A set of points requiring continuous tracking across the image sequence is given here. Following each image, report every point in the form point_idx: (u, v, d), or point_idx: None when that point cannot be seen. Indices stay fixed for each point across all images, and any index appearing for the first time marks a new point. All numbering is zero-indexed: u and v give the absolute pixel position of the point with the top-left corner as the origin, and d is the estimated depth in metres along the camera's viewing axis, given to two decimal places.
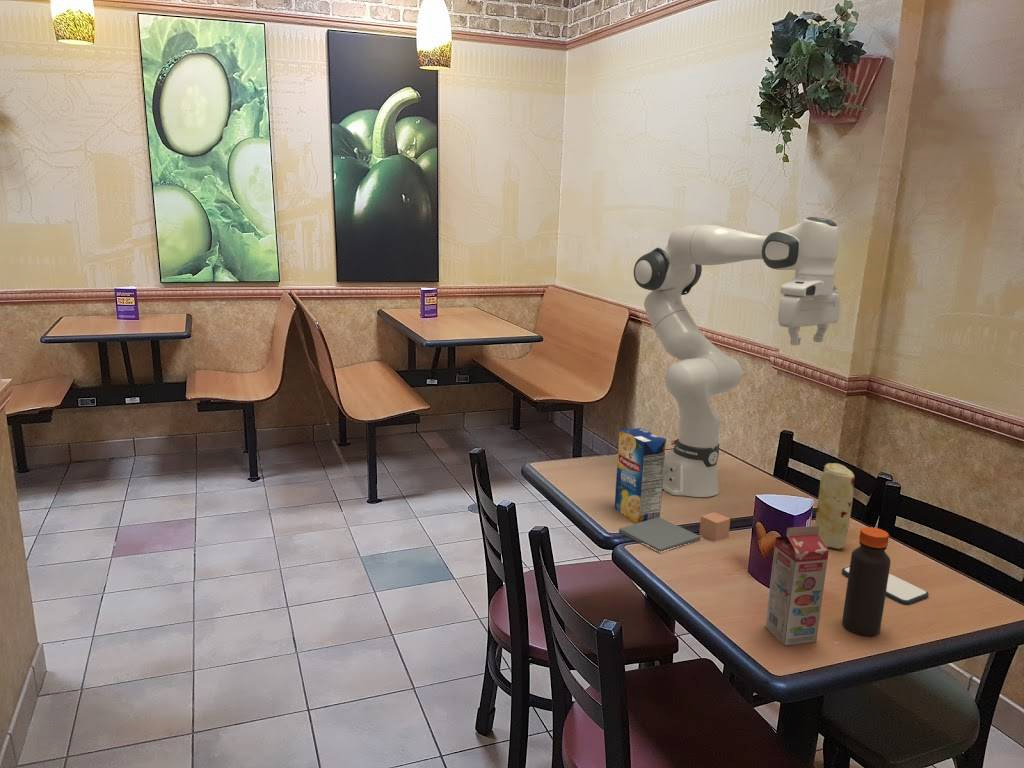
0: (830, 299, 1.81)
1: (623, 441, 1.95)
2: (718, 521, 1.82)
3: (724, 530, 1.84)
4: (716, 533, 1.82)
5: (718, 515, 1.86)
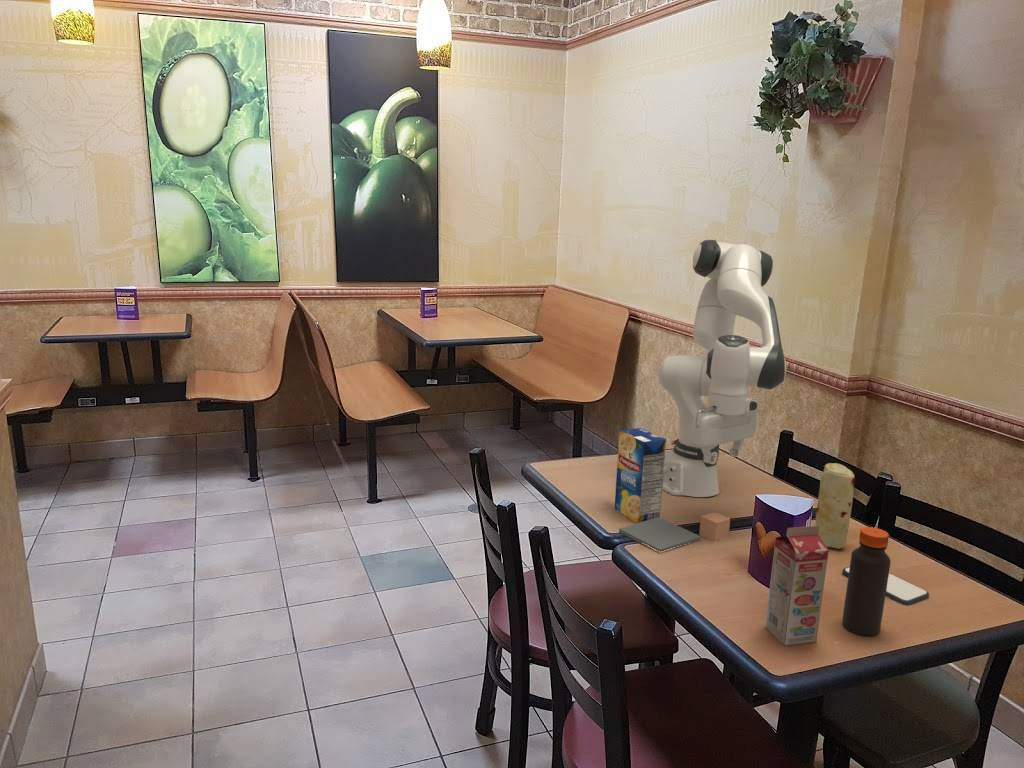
0: None
1: (623, 441, 1.95)
2: (718, 521, 1.82)
3: (725, 530, 1.84)
4: (716, 533, 1.82)
5: (718, 515, 1.86)
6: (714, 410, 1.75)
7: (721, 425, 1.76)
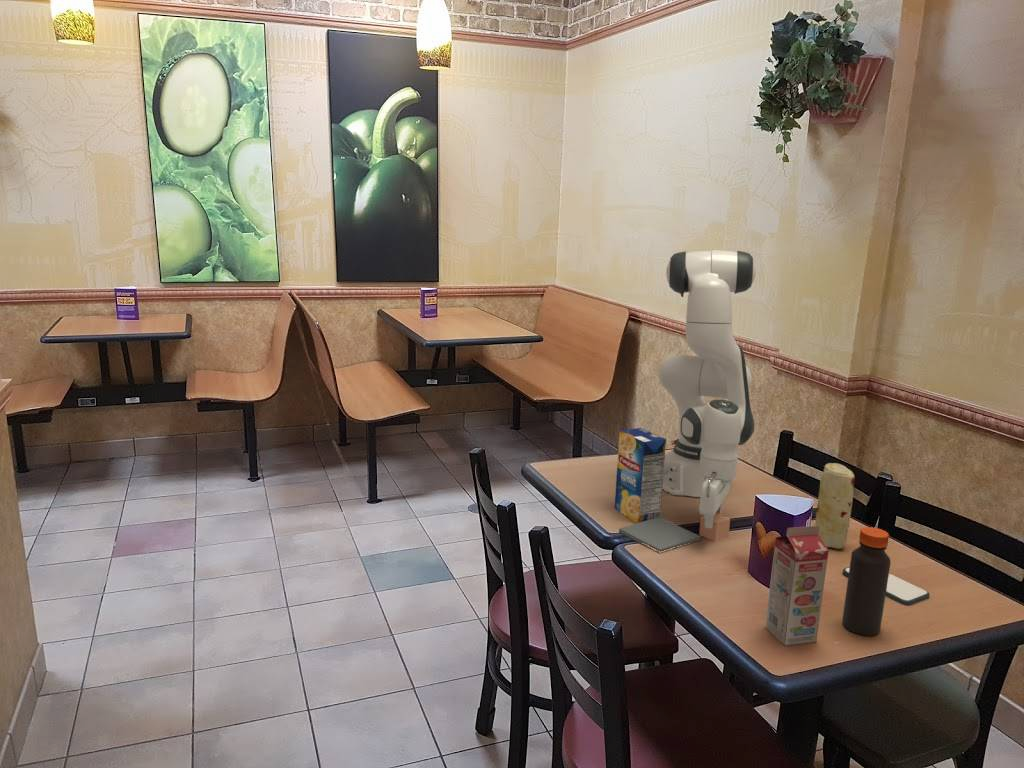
0: None
1: (623, 441, 1.95)
2: (718, 521, 1.82)
3: (725, 530, 1.84)
4: (716, 533, 1.82)
5: (718, 515, 1.86)
6: (715, 476, 1.78)
7: (720, 489, 1.79)
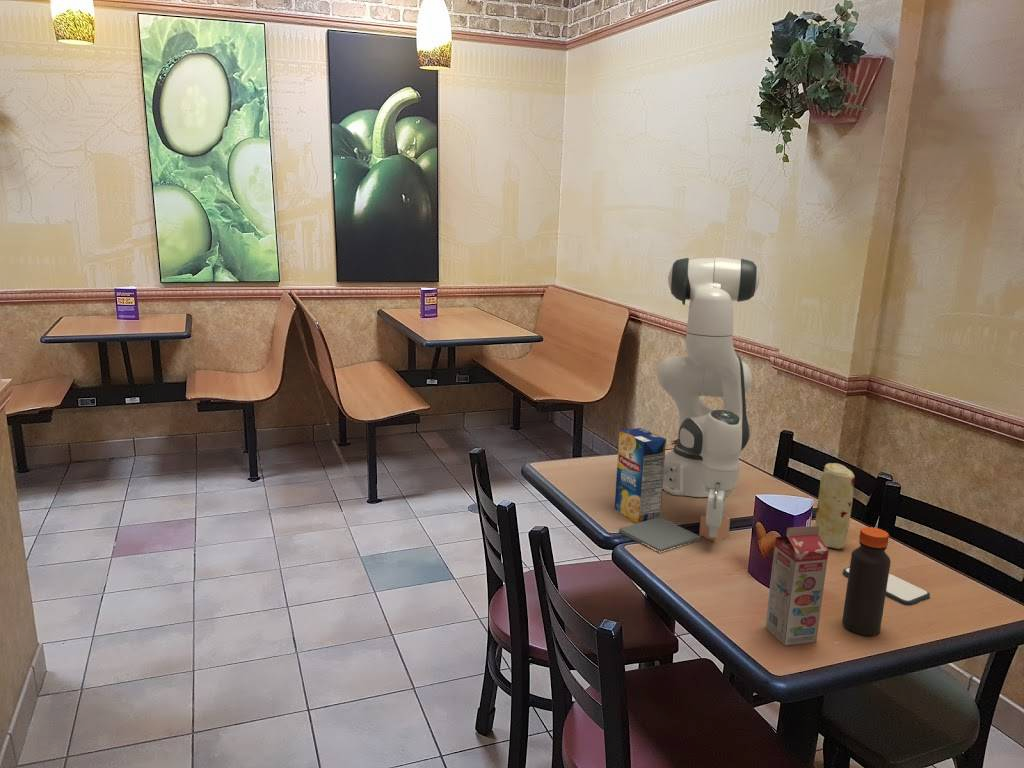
0: None
1: (623, 441, 1.95)
2: None
3: (725, 530, 1.84)
4: None
5: None
6: (719, 487, 1.78)
7: None
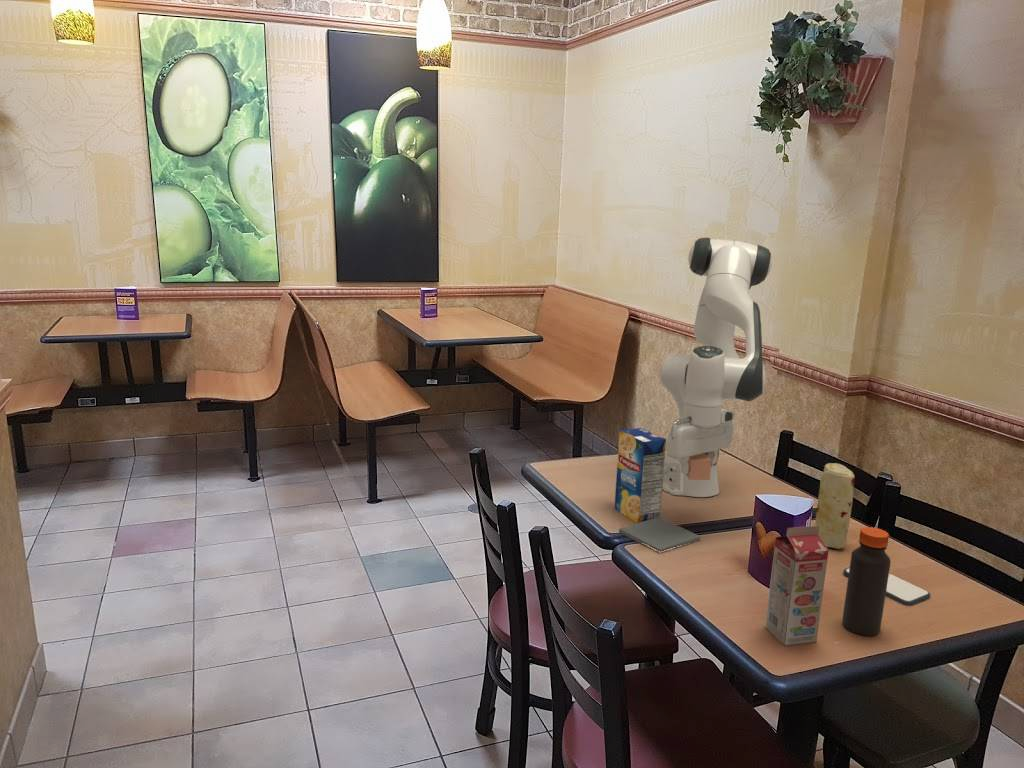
0: None
1: (623, 441, 1.95)
2: (695, 459, 1.78)
3: (703, 471, 1.79)
4: (690, 470, 1.78)
5: (705, 456, 1.81)
6: (690, 421, 1.75)
7: (696, 436, 1.76)
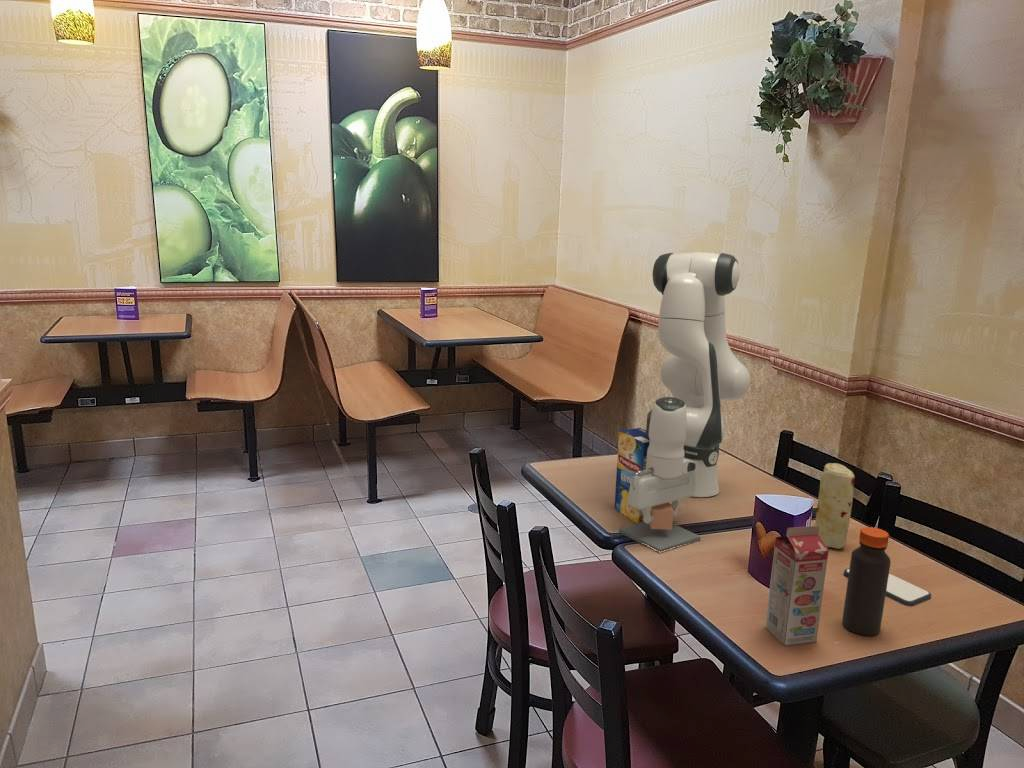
0: None
1: (623, 441, 1.94)
2: (657, 509, 1.80)
3: (666, 520, 1.80)
4: None
5: (668, 505, 1.83)
6: (652, 472, 1.77)
7: (658, 487, 1.78)
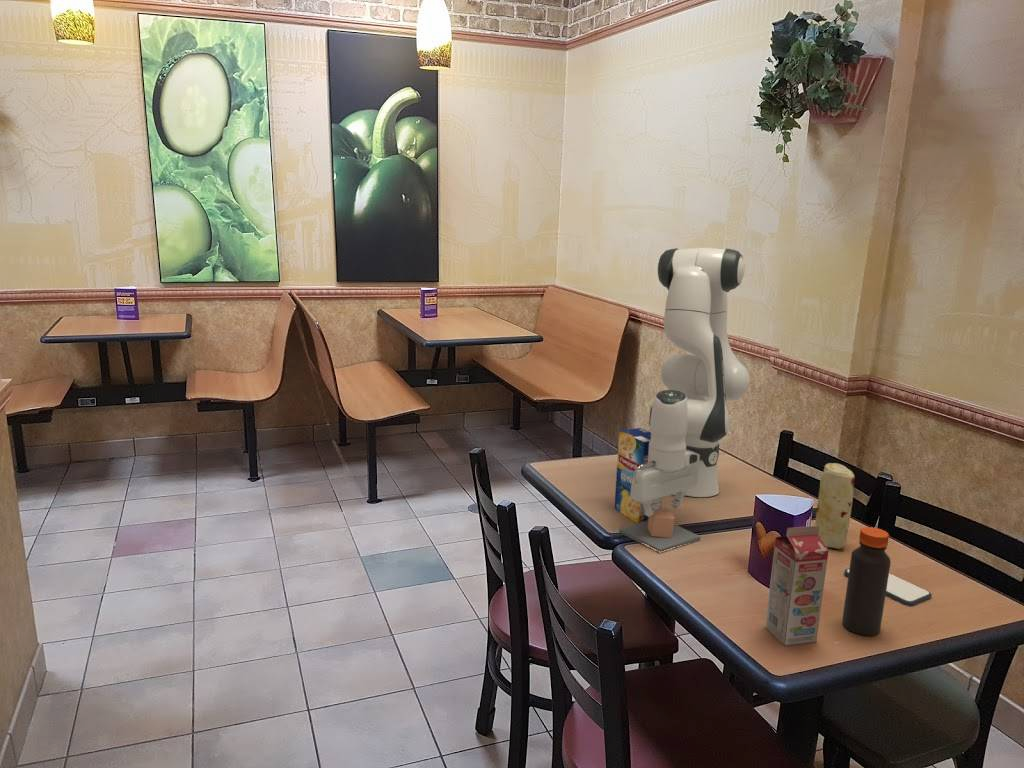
0: None
1: (623, 441, 1.95)
2: (658, 516, 1.81)
3: (666, 528, 1.81)
4: (653, 527, 1.81)
5: (669, 513, 1.83)
6: (654, 465, 1.77)
7: (660, 479, 1.78)
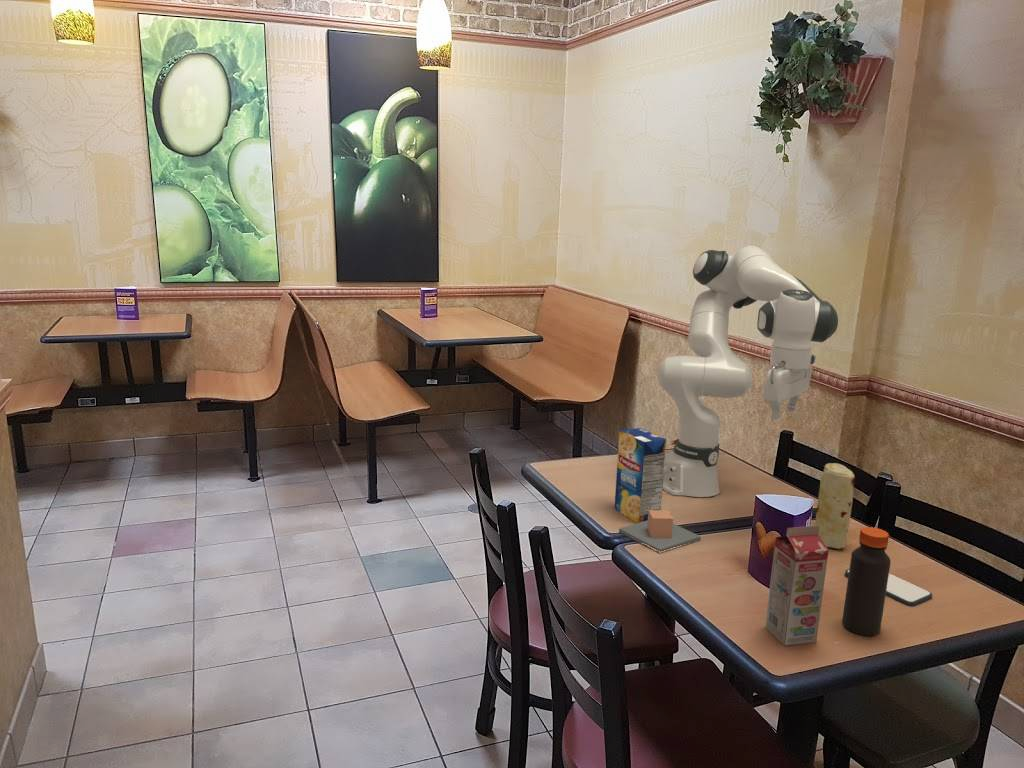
0: None
1: (623, 441, 1.95)
2: (657, 517, 1.81)
3: (665, 529, 1.81)
4: (652, 528, 1.81)
5: (667, 513, 1.83)
6: (784, 365, 1.74)
7: (789, 380, 1.75)
